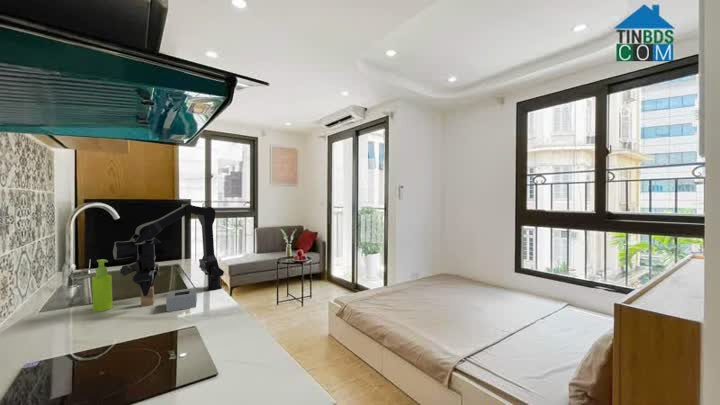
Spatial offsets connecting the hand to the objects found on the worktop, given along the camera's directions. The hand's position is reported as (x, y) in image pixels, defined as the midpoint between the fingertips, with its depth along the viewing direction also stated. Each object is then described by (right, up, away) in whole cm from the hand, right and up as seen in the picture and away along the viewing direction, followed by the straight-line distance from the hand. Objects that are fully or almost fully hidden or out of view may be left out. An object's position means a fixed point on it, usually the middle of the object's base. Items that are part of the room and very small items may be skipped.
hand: (147, 292), depth 121 cm
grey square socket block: (+15, -5, -1) cm, 16 cm away
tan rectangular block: (0, -5, 0) cm, 5 cm away
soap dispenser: (-15, -6, -4) cm, 16 cm away
